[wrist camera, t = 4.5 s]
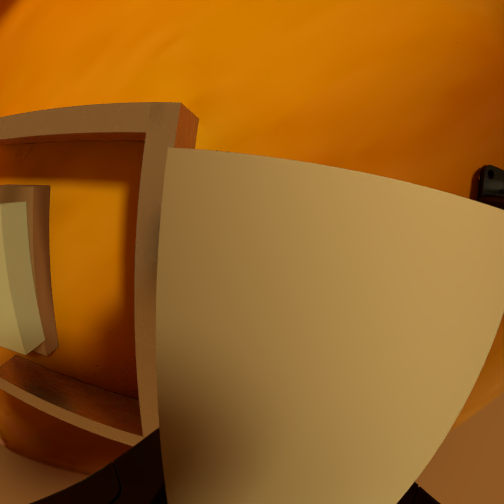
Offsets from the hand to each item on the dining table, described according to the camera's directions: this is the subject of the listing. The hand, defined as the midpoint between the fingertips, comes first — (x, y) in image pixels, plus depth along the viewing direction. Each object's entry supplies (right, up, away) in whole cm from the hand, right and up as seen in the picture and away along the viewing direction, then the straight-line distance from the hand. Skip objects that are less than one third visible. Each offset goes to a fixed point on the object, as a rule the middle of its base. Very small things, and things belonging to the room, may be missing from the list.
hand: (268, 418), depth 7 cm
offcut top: (-14, +3, +6) cm, 16 cm away
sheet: (0, +1, +6) cm, 6 cm away
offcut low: (-14, +4, +8) cm, 17 cm away
